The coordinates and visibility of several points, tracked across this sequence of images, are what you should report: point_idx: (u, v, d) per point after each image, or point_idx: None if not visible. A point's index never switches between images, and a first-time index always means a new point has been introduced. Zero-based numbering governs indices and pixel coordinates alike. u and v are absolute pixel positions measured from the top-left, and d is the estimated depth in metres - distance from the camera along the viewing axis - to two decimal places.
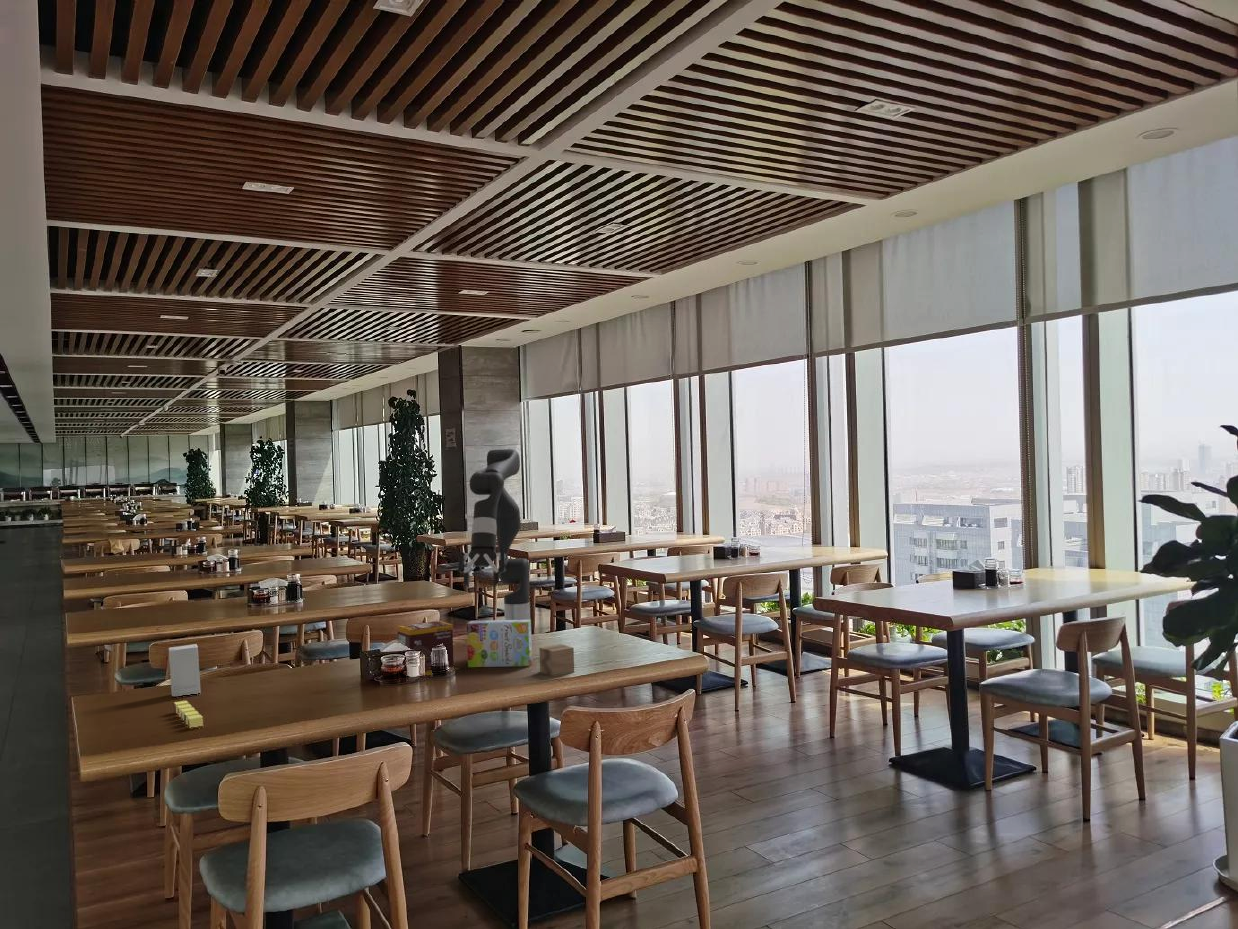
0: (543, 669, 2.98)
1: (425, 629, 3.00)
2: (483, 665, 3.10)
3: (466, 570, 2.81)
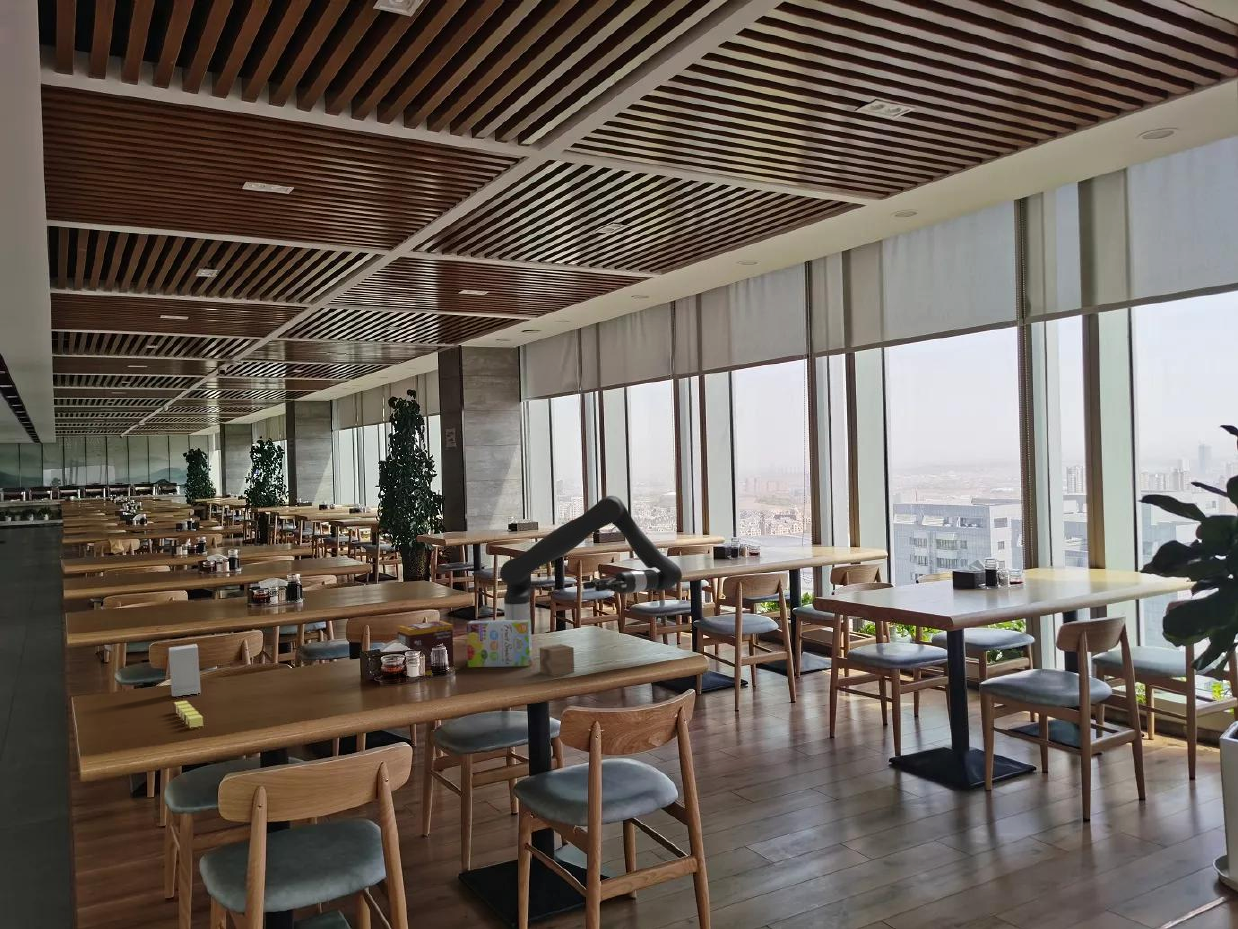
0: (543, 669, 2.98)
1: (425, 629, 3.00)
2: (483, 665, 3.10)
3: None
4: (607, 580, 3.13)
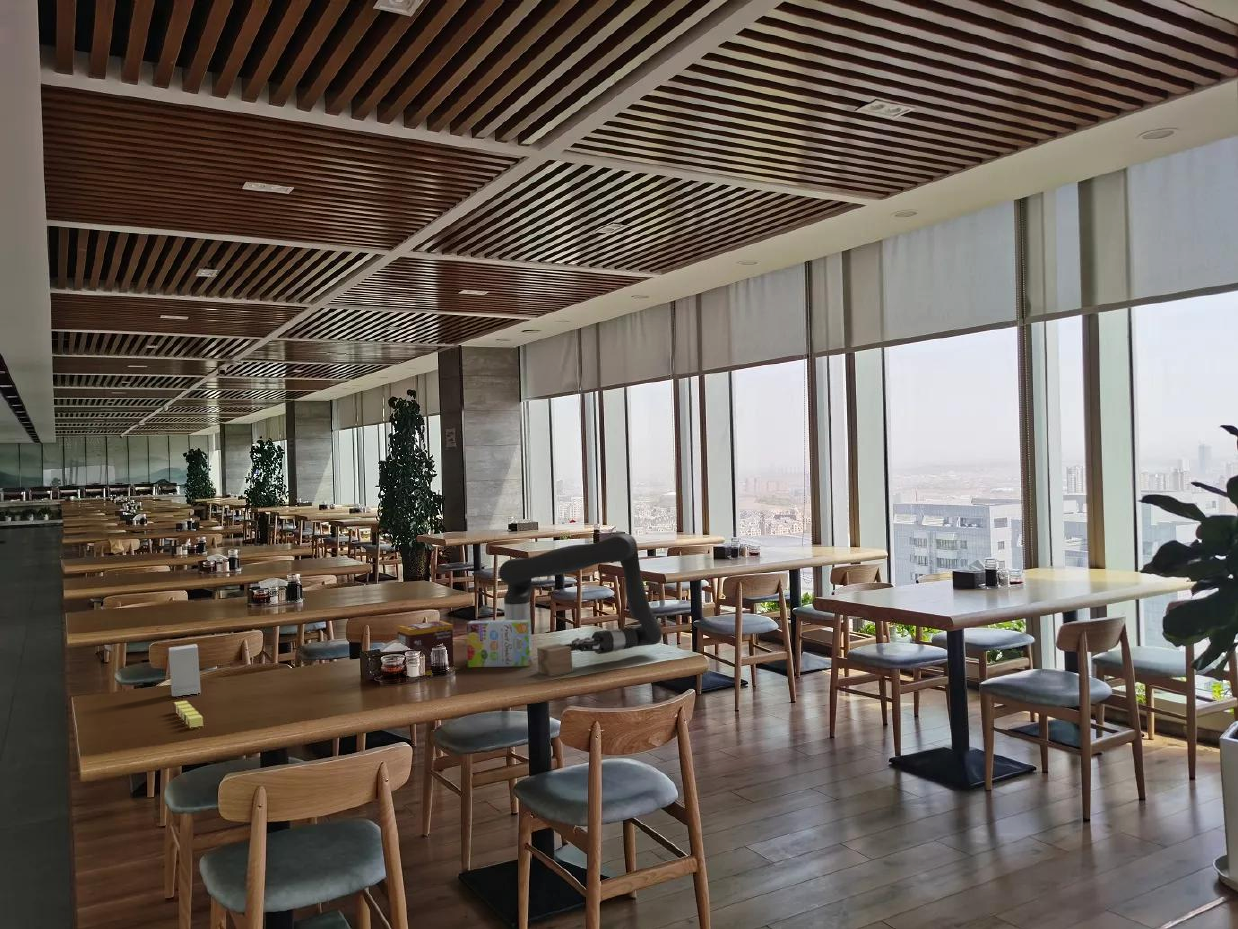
0: (542, 669, 2.98)
1: (425, 629, 3.00)
2: (483, 665, 3.10)
3: None
4: None
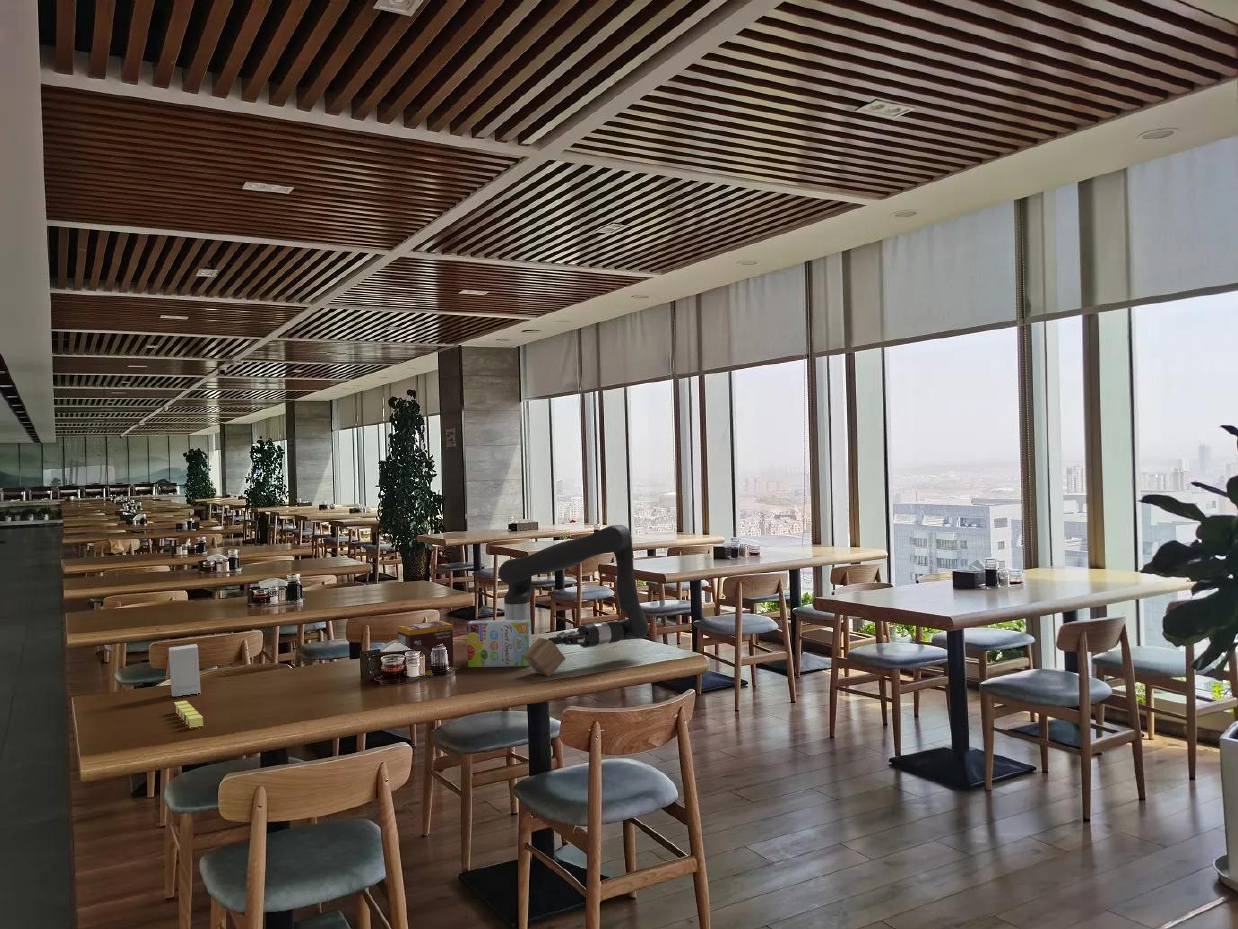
0: (537, 671, 2.97)
1: (425, 629, 3.00)
2: (483, 665, 3.10)
3: None
4: None
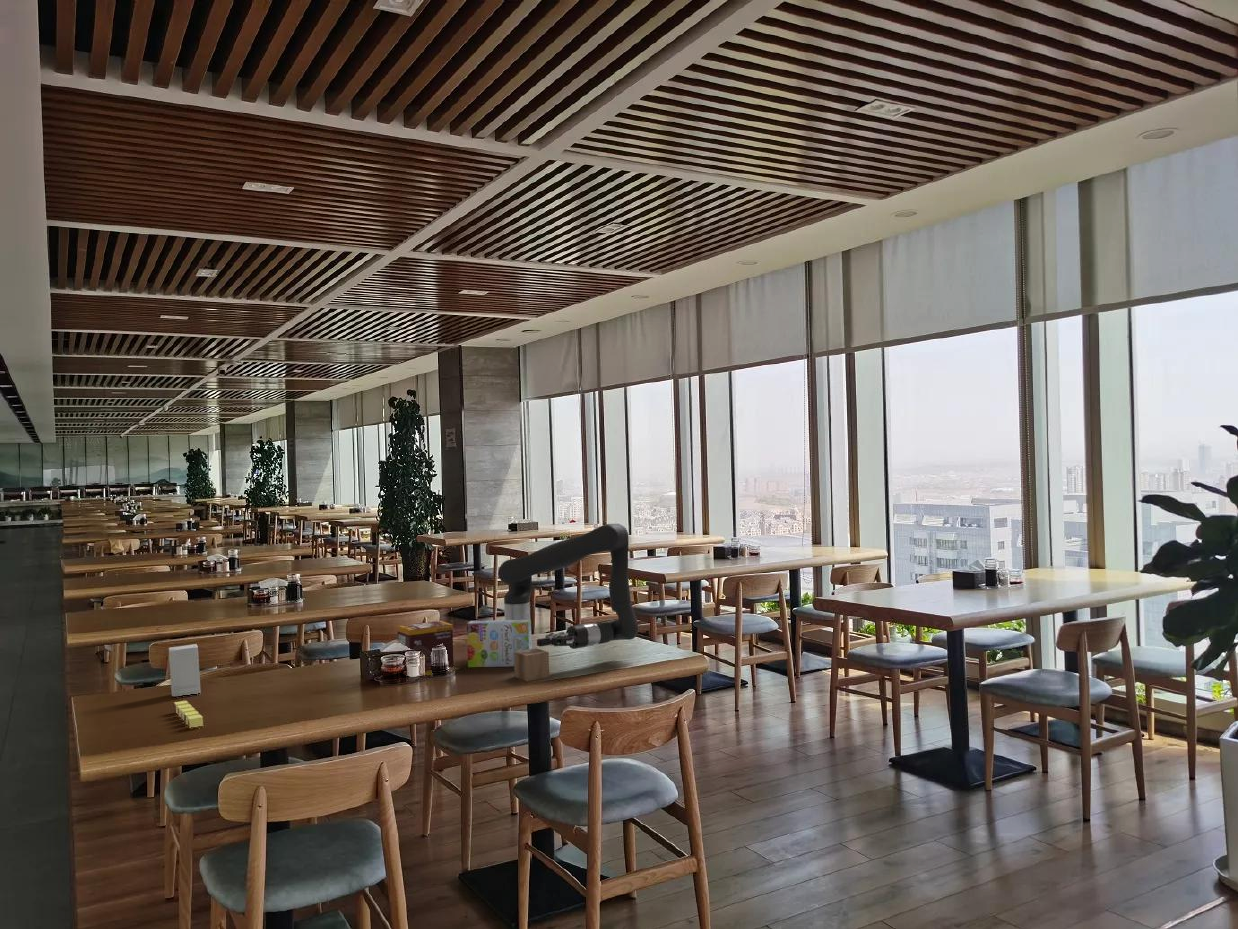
0: None
1: (425, 629, 3.00)
2: (483, 665, 3.10)
3: None
4: (561, 635, 3.01)
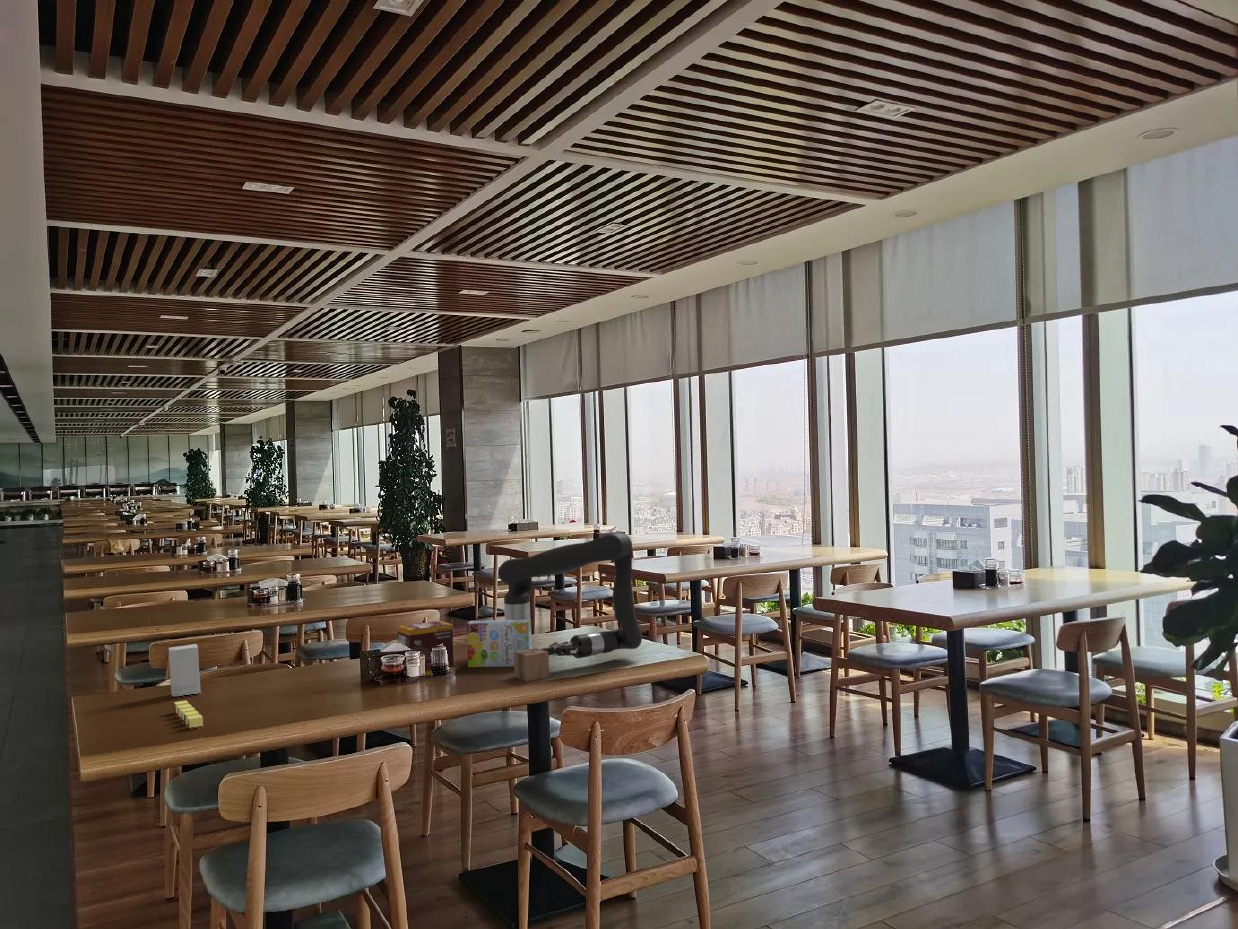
0: None
1: (425, 629, 3.00)
2: (483, 665, 3.10)
3: None
4: None
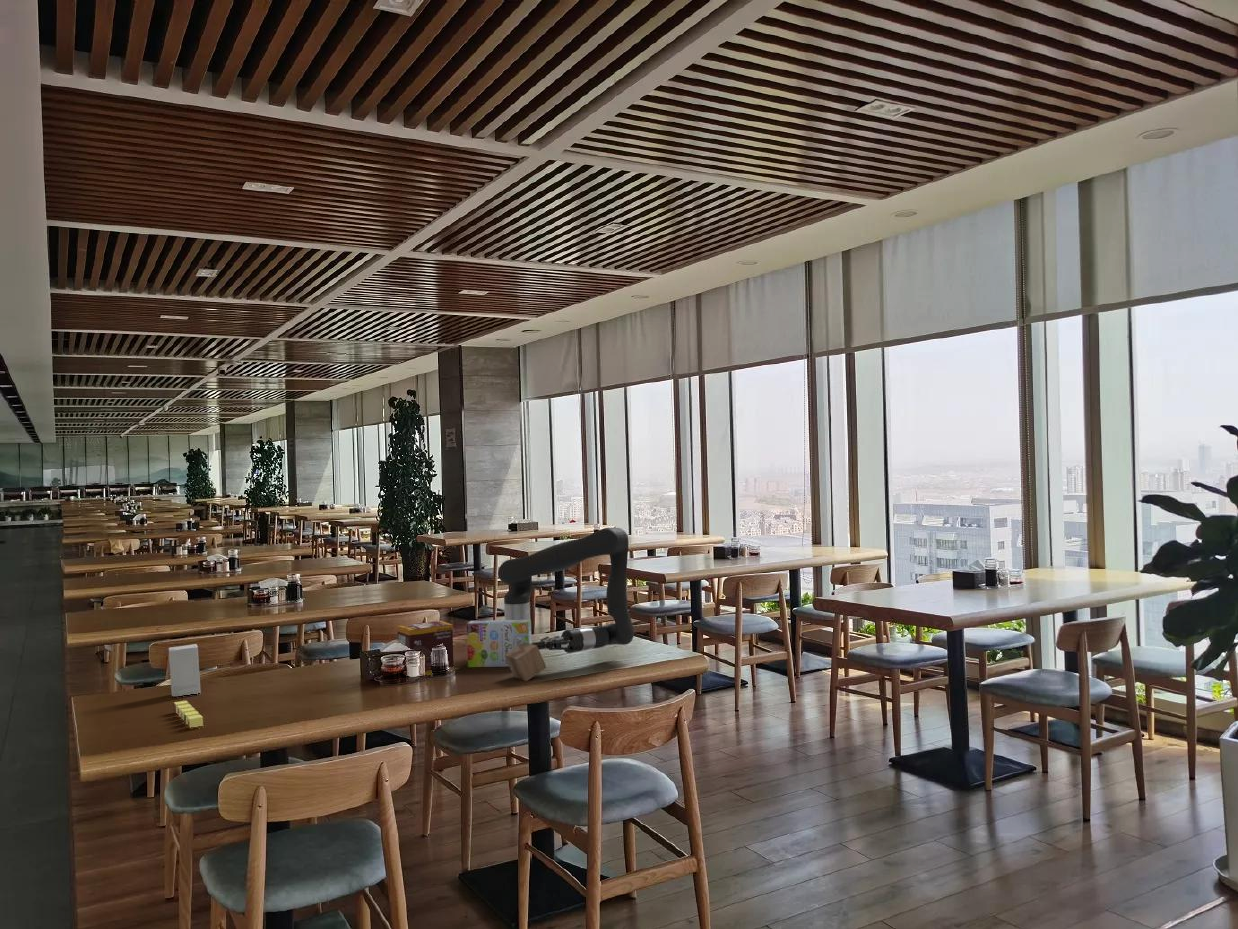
0: None
1: (425, 629, 3.00)
2: (483, 665, 3.10)
3: None
4: None
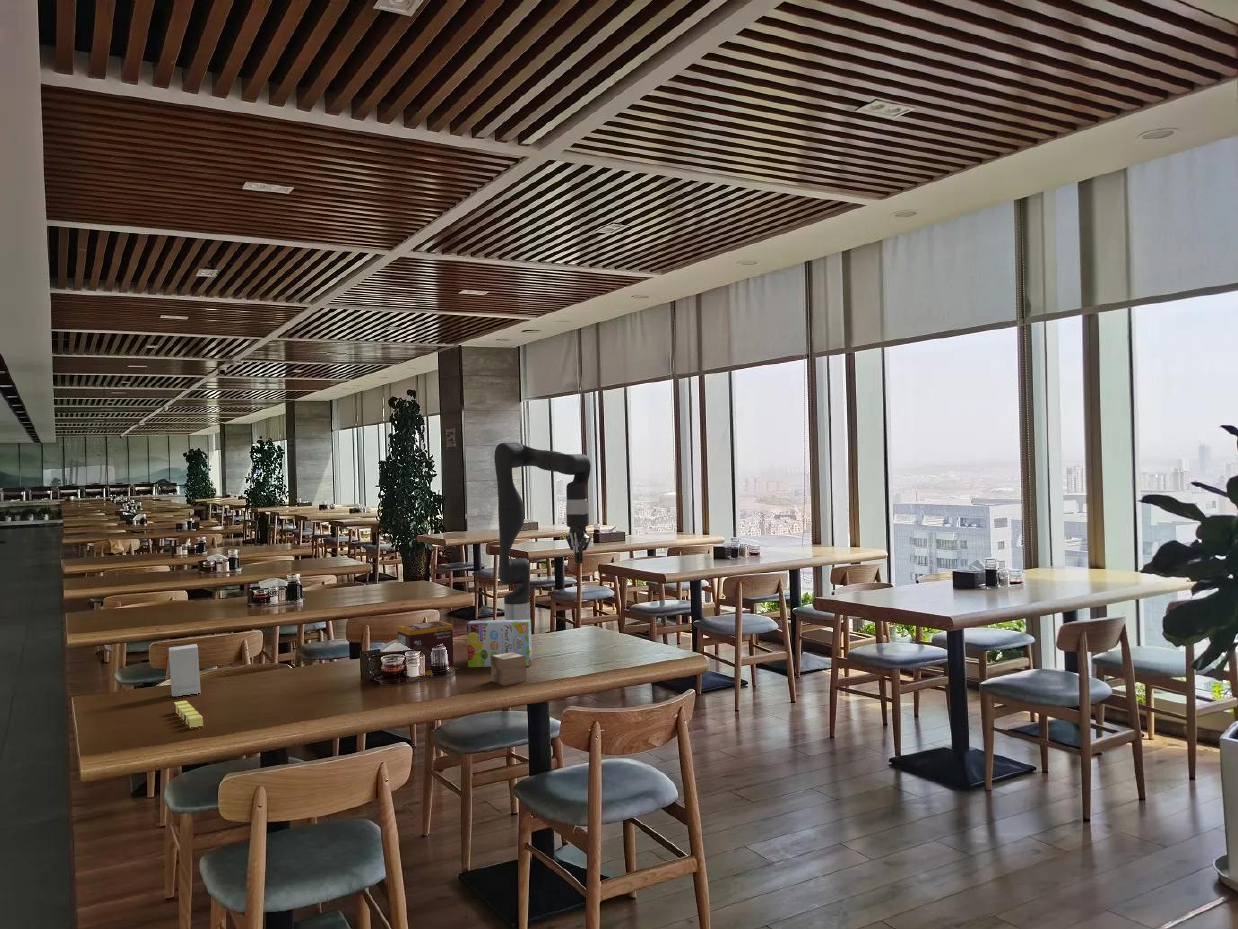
0: None
1: (425, 629, 3.00)
2: (483, 665, 3.10)
3: None
4: (574, 537, 3.16)
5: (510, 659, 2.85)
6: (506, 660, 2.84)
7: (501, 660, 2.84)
